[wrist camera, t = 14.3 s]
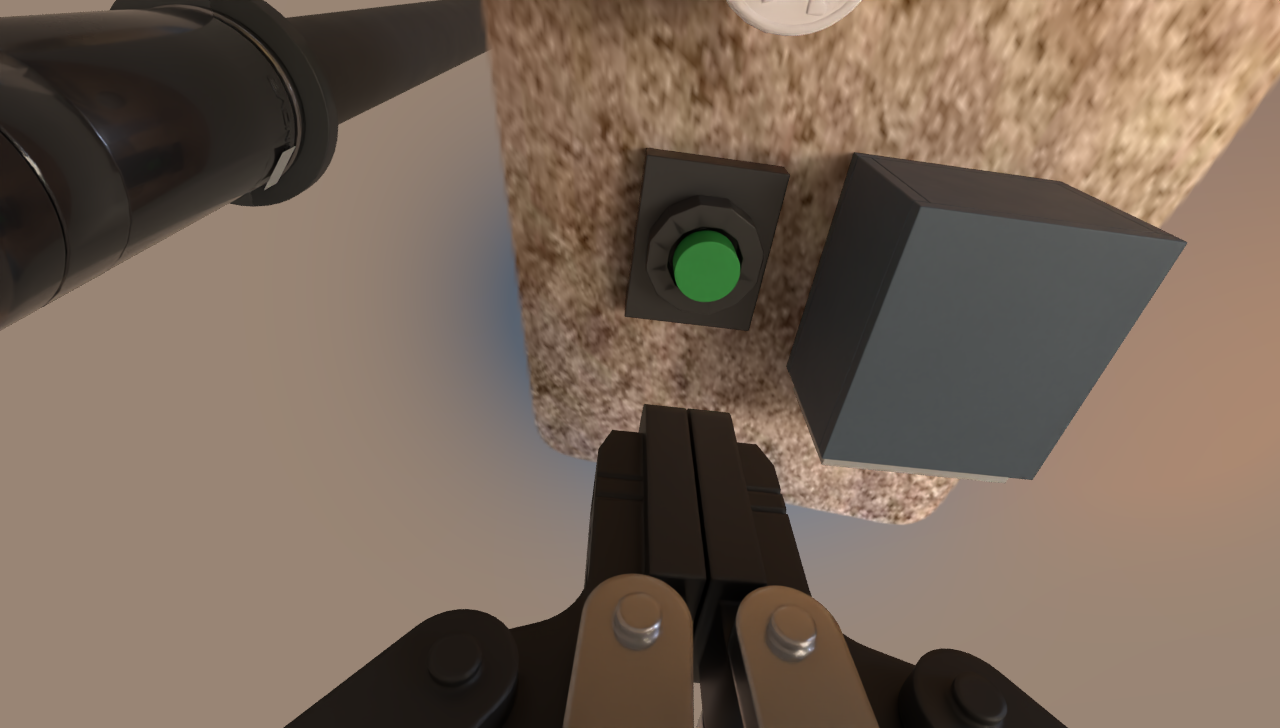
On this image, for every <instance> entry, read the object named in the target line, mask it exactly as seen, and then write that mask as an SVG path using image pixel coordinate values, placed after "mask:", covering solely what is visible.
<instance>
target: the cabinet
mask: <svg viewBox="0 0 1280 728" xmlns="http://www.w3.org/2000/svg"><path fill="white" fill-rule="evenodd" d="M1186 244H1187V242H1186V241H1184V240H1181V239H1179V238H1177V237H1175V236H1173V235H1171V234H1169V233H1167V232H1165V231H1163V230H1161V229H1159V228H1157V227H1155V226H1153V225H1151V224H1148V223H1146V222H1144V221H1142V220H1140V219H1138V218H1136V217H1134V216H1132V215H1130V214H1128V213H1126V212H1123V211H1121V210H1119V209H1117V208H1115V207H1113V206H1111V205H1109V204H1107V203H1105V202H1103V201H1101V200H1099V199H1096V198H1094V197H1092V196H1090V195H1088V194H1086V193H1084V192H1082V191H1080V190H1078V189H1076V188H1074V187H1071V186H1069V185H1067V184H1065V183H1063V182H1060V181H1053V180H1045V179H1038V178H1031V177H1024V176H1017V175H1010V174H1003V173H996V172H989V171H982V170H975V169H968V168H961V167H954V166H947V165H940V164H933V163H926V162H918V161H911V160H904V159H897V158H890V157H883V156H876V155H869V154H862V153H854V154H853V157H852V160H851V163H850V167H849V170H848V173H847V176H846V179H845V182H844V186H843V189H842V192H841V195H840V198H839V201H838V205H837V208H836V211H835V214H834V217H833V220H832V224H831V227H830V230H829V233H828V236H827V239H826V243H825V246H824V249H823V252H822V255H821V258H820V262H819V265H818V268H817V271H816V274H815V278H814V281H813V284H812V287H811V290H810V293H809V297H808V300H807V303H806V306H805V309H804V312H803V316H802V319H801V322H800V325H799V328H798V331H797V335H796V338H795V341H794V344H793V347H792V350H791V354H790V357H789V360H788V363H787V366H786V367H787V369H788V372H789V374H790V376H791V379H792V382H793V384H794V387H795V389H796V392H797V394H798V397H799V400H800V402H801V405H802V407H803V410H804V413H805V415H806V418H807V420H808V423H809V426H810V428H811V431H812V433H813V436H814V438H815V441H816V444H817V446H818V449H819V452H820V454H821V457H822V459H830V460H840V461H850V462H860V463H870V464H880V465H890V466H899V467H909V468H919V469H929V470H939V471H949V472H959V473H969V474H978V475H988V476H998V477H1008V478H1019V479H1029V480H1033V478H1034V477H1035V475H1036V474H1037V472H1038V471H1039V469H1040V468H1041V466H1042V465H1043V463H1044V461H1045V460H1046V458H1047V457H1048V455H1049V454H1050V452H1051V451H1052V449H1053V448H1054V446H1055V445H1056V443H1057V442H1058V440H1059V439H1060V437H1061V435H1062V434H1063V432H1064V431H1065V429H1066V428H1067V426H1068V425H1069V423H1070V422H1071V420H1072V419H1073V417H1074V416H1075V414H1076V413H1077V411H1078V409H1079V408H1080V406H1081V405H1082V403H1083V402H1084V400H1085V399H1086V397H1087V396H1088V394H1089V393H1090V391H1091V390H1092V388H1093V387H1094V385H1095V384H1096V382H1097V380H1098V379H1099V377H1100V376H1101V374H1102V373H1103V371H1104V370H1105V368H1106V367H1107V365H1108V364H1109V362H1110V361H1111V359H1112V358H1113V356H1114V354H1115V353H1116V351H1117V350H1118V348H1119V347H1120V345H1121V344H1122V342H1123V341H1124V339H1125V337H1126V336H1127V335H1128V333H1129V331H1130V330H1131V328H1132V327H1133V325H1134V324H1135V322H1136V321H1137V319H1138V318H1139V316H1140V315H1141V313H1142V311H1143V310H1144V308H1145V307H1146V305H1147V304H1148V303H1149V301H1150V299H1151V298H1152V296H1153V295H1154V293H1155V292H1156V290H1157V289H1158V287H1159V286H1160V284H1161V283H1162V281H1163V280H1164V278H1165V276H1166V275H1167V273H1168V272H1169V270H1170V269H1171V267H1172V266H1173V264H1174V263H1175V261H1176V260H1177V258H1178V256H1179V255H1180V254H1181V252H1182V250H1183V249H1184V247H1185V246H1186Z"/></svg>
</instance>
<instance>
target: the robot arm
mask: <svg viewBox="0 0 1280 728" xmlns="http://www.w3.org/2000/svg"><path fill="white" fill-rule="evenodd" d="M305 132H306V122H305V113H304V108H303V104H302V100H301V97H300V94H299V92H298V89H297V86H296V84H295V82H294V80H293V78H292V76H291V75H290V73H289V71H288V69H287V68H286V66H285V65H284V63H283V62H282V61H281V59H280V58H279V57H278V55H277V54H276V53H275V52H274V51H273V49H272V48H271V47H270V46H269V45H268V44H267V43H266V42H265V41H264V40H263V39H262V38H261V37H260V36H258V35H257V34H256V33H255V32H254V31H252V30H251V29H250V28H248V27H247V26H245V25H244V24H243V23H241V22H239V21H238V20H236V19H234V18H232V17H230V16H228V15H226V14H224V13H222V12H219V11H217V10H214V9H211V8H208V7H204V6H199V5H191V4H173V5H163V6H158V7H154V8H149V9H126V10H109V11H93V12H78V13H62V14H45V15H29V16H13V17H0V330H2V329H4V328H6V327H8V326H10V325H12V324H13V323H15V322H17V321H19V320H20V319H22V318H24V317H26V316H28V315H30V314H31V313H33V312H35V311H37V310H38V309H40V308H41V307H44V306H45V305H47V304H49V303H51V302H53V301H54V300H56V299H58V298H60V297H62V296H64V295H65V294H67V293H69V292H71V291H73V290H74V289H76V288H78V287H80V286H82V285H83V284H85V283H87V282H89V281H91V280H92V279H94V278H96V277H98V276H100V275H101V274H103V273H105V272H106V271H108V270H110V269H111V268H113V267H115V266H117V265H119V264H120V263H122V262H124V261H126V260H128V259H130V258H131V257H133V256H135V255H137V254H138V253H140V252H142V251H144V250H146V249H147V248H149V247H151V246H153V245H155V244H157V243H158V242H160V241H162V240H164V239H166V238H167V237H169V236H171V235H173V234H175V233H176V232H178V231H180V230H182V229H184V228H185V227H187V226H189V225H191V224H193V223H194V222H196V221H198V220H200V219H202V218H204V217H205V216H207V215H209V214H211V213H212V212H214V211H216V210H218V209H220V208H221V207H223V206H225V205H227V204H229V203H231V202H232V201H234V200H236V199H238V198H240V197H242V196H244V195H245V194H247V193H249V192H251V191H253V190H254V189H256V188H258V187H262V186H265V185H266V187H265V189H267V188H269V187H271V186H272V185H274V184H276V183H277V182H278V180H279V178H280V177H282V176H283V175H284V174H286V173H287V172H288V171H289V170H290V169H291V168H292V167H293V166H294V164H295V163H296V161H297V160H298V158H299V156H300V154H301V151H302V148H303V145H304V140H305ZM265 189H264V190H265ZM780 491H781V489H780V485H779V482H778V478H777V475H776V471H775V468H774V465H773V464H772V463H771V462H770V460H769V459H768V458H767V457H766V455H765V454H764V453H763V452H762V451H761V449H760V448H759V447H758V446H757V445H756V444H746V443H737V441H736V436H735V432H734V427H733V423H732V418H731V415H730V414H729V413H726V412H716V411H707V410H697V409H687V411H686V409H685V408H677V407H667V406H658V405H648V404H644V406H643V410H642V416H641V421H640V427H639V433H637V432H627V431H617V430H612V431H611V433H610V434H609V435H608V437H607V438H606V439H605V441H604V442H603V444H602V445H601V446H600V448H599V450H598V458H597V465H596V474H595V481H594V489H593V497H592V504H591V512H590V524H589V537H588V549H587V560H586V571H585V584H584V590H583V591H582V593H581V595H580V596H579V597H578V598H577V600H576V601H575V602H574V603H573V604H572V605H571V606H570V607H569V608H567V609H566V610H565V611H563V612H562V613H560V614H558V615H556V616H554V617H552V618H550V619H548V620H544V621H541V622H537V623H533V624H529V625H525V626H520V627H516V628H512V629H508V628H507V627H506V626H505V625H504V623H502V622H501V621H500V620H498V619H497V618H496V617H494V616H491V615H490V614H488V613H484V612H481V611H478V610H469V609H458V610H452V611H446V612H443V613H440V614H437V615H435V616H433V617H431V618H428V619H427V620H425V621H423V622H422V623H420V624H419V625H418V626H416V627H415V628H413V629H412V630H411V631H410V632H408V633H407V634H405V635H404V636H403V637H401V638H400V639H399V640H398V641H396V642H395V643H394V644H392V645H391V646H390V647H388V648H387V649H386V650H384V651H383V652H382V653H381V654H379V655H378V656H377V657H375V658H374V659H373V660H371V661H370V662H369V663H367V664H366V665H365V666H364V667H362V668H361V669H360V670H358V671H357V672H356V673H354V674H353V675H352V676H351V677H349V678H348V679H347V680H346V681H344V682H343V683H341V684H340V685H339V686H337V687H336V688H335V689H333V690H332V691H331V692H330V693H328V694H327V695H326V696H324V697H323V698H322V699H320V700H319V701H318V702H316V703H315V704H314V705H313V706H311V707H310V708H309V709H307V710H306V711H305V712H303V713H302V714H301V715H299V716H298V717H297V718H296V719H294V720H293V721H292V722H290V723H289V724H288V725H286V726H285V727H284V728H694V707H693V706H694V705H693V704H694V703H693V701H694V700H693V682H695V683H700V688H701V699H702V712H701V715H700V718H699V720H698V724H697V728H1067V727H1066V726H1065V725H1064V724H1062V723H1061V722H1060V721H1059V720H1057V719H1056V718H1055V717H1054V716H1053V715H1051V714H1050V713H1049V712H1048V711H1047V710H1045V709H1044V708H1043V707H1042V706H1040V705H1039V704H1038V703H1037V702H1035V701H1034V700H1033V699H1032V698H1031V697H1030V696H1028V695H1027V694H1026V693H1025V692H1023V691H1022V690H1021V689H1020V688H1019V687H1017V686H1016V685H1015V684H1014V683H1012V682H1011V681H1010V680H1009V679H1008V678H1006V677H1005V676H1004V675H1003V674H1001V673H1000V672H999V671H998V670H996V669H995V668H994V667H992V666H991V665H990V664H988V663H986V662H984V661H983V660H981V659H979V658H977V657H975V656H973V655H971V654H969V653H966V652H962V651H959V650H954V649H936V650H932V651H930V652H928V653H926V654H925V655H923V656H922V657H921V658H920V660H919V661H918V662H917V664H916V665H913V664H910V663H907V662H905V661H903V660H900V659H897V658H894V657H892V656H889V655H887V654H884V653H882V652H879V651H876V650H874V649H871V648H868V647H866V646H863V645H862V644H859V643H857V642H855V641H854V640H852V639H850V638H849V637H847V636H846V635H844V634H843V633H842V631H841V629H840V627H839V625H838V623H837V622H836V620H835V619H834V617H833V616H832V615H831V613H830V612H829V611H828V610H827V609H826V608H825V607H824V606H823V605H822V604H821V603H819V602H818V601H816V600H815V599H814V598H812V596H811V593H810V591H809V587H808V584H807V580H806V577H805V573H804V570H803V566H802V563H801V559H800V556H799V552H798V549H797V545H796V542H795V538H794V535H793V531H792V527H791V524H790V520H789V517H788V514H786V506H785V503H784V499H783V496H782V494H780Z"/></svg>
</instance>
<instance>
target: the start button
mask: <svg viewBox="0 0 1280 728" xmlns="http://www.w3.org/2000/svg"><path fill="white" fill-rule="evenodd" d="M673 269H674V277H675V281H676V284H677V286H678V288H679V289H680V291H681V292H682V293H683V294H684V295H685V296H687V297H688V298H690V299H692V300H695V301H699V302H712V301H716V300H719V299H721V298H723V297H725V296H726V295H727V294H729V293H730V292H731V291H732V290H733V289H734V287H735V286H736V284H737V282H738V280H739V277H740V263H739V260H738V257H737V254H736V251H735V249H734V246H733V245H732V243H731V242H730V240H729V239H728V238H727V237H725V236H724V235H722V234H720V233H718V232H715V231H710V230H703V231H697V232H694V233H692V234H690V235H688V236H687V237H685V238H684V239H683V240H682V241H681V242H680V243H679V245H678V246H677V248H676V250H675V252H674V256H673Z"/></svg>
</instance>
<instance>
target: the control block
mask: <svg viewBox="0 0 1280 728" xmlns="http://www.w3.org/2000/svg"><path fill="white" fill-rule="evenodd" d="M789 177H790V174H789V173H788V172H787V170H786V169H785V168H784V167H782V166H775V165H768V164H760V163H753V162H746V161H739V160H731V159H724V158H717V157H710V156H703V155H695V154H688V153H681V152H674V151H666V150H659V149H652V148H646V153H645V161H644V168H643V175H642V183H641V190H640V197H639V205H638V212H637V220H636V227H635V234H634V242H633V249H632V256H631V264H630V271H629V279H628V286H627V293H626V301H625V317H632V318H641V319H650V320H658V321H667V322H675V323H684V324H692V325H701V326H710V327H718V328H727V329H735V330H744V331H749V328H750V324H751V320H752V317H753V313H754V309H755V305H756V301H757V298H758V294H759V290H760V286H761V283H762V279H763V275H764V271H765V268H766V264H767V260H768V256H769V253H770V249H771V245H772V241H773V237H774V234H775V230H776V226H777V222H778V219H779V215H780V211H781V207H782V204H783V200H784V196H785V192H786V188H787V185H788V181H789ZM703 230H710V231H715V232H718V233H720V234H722V235H724V236H725V237H727V238H728V239H729V240H730V242H731V243H732V245H733V246H734V249H735V251H736V254H737V257H738V260H739V263H740V277H739V280H738V282H737V284H736V286H735V287H734V289H733V290H732V291H731V292H730V293H729V294H727V295H726V296H725V297H723V298H721V299H719V300H716V301H712V302H699V301H695V300H692V299H690V298H688V297H687V296H685V295H684V294H683V293H682V292H681V291H680V289H679V288H678V286H677V284H676V281H675V277H674V269H673V256H674V252H675V250H676V248H677V246H678V245H679V243H680V242H681V241H682V240H683V239H684V238H685V237H687V236H688V235H690V234H692V233H694V232H697V231H703Z"/></svg>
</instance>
